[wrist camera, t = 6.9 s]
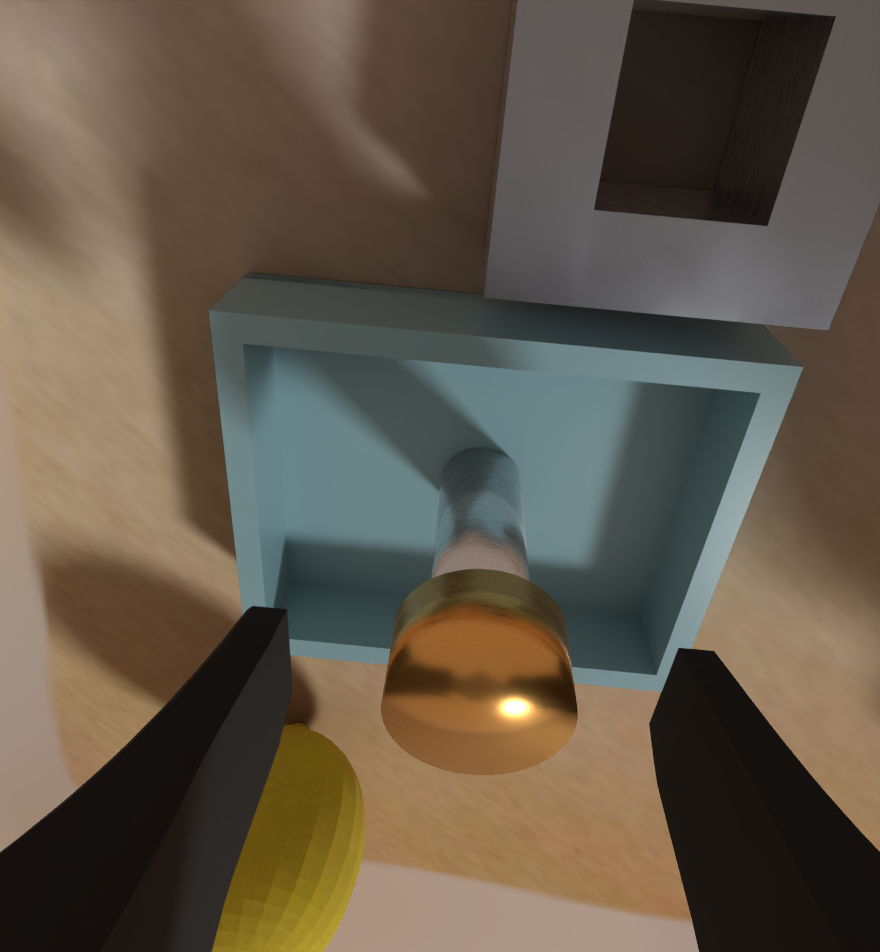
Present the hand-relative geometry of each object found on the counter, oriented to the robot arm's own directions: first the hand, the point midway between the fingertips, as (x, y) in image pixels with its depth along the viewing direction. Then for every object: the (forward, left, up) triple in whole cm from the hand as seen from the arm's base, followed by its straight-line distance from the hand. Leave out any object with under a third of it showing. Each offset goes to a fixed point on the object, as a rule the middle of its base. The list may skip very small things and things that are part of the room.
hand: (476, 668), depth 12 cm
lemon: (-11, +5, -7) cm, 14 cm away
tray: (0, 0, -6) cm, 6 cm away
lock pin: (0, 0, -6) cm, 6 cm away
